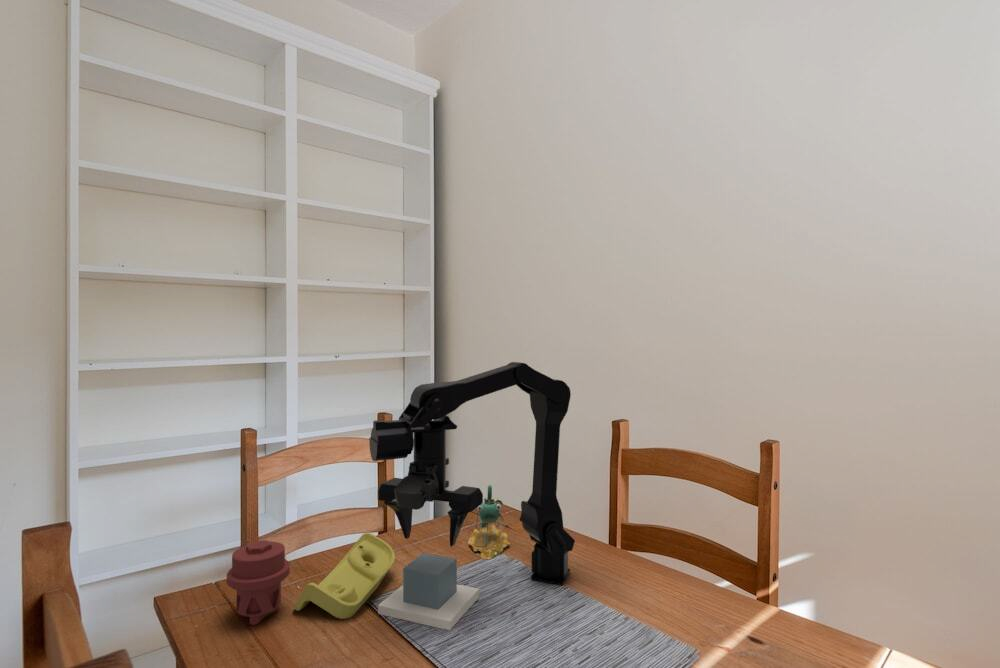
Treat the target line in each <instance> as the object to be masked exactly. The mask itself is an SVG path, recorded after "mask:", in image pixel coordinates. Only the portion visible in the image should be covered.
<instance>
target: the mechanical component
mask: <svg viewBox="0 0 1000 668" xmlns="http://www.w3.org/2000/svg"><path fill="white" fill-rule="evenodd" d="M285 547H286V546H285V545H284V544H283V543H280V542H278V541H270V540H265V539H264V540H263V539H262V540H260V539H259V540H256V541H252V542H250V543H248V544H246V545H244V546H241V547H239V548H237V549H236V550H235V551H234V552H233V553H232V554H231V568H230V569H229V570H228V571H227V573H226V585H227V586H228V587H230V588H231V589H233V590H235V591H236V613H237V614H239V615H240V616H243V617H247V618H248V617H249V625H252V626H255V625H258V624H259V623H260V622H261V621H262V620H264V618H266V617H267V616H269V615H271V614H273V613H275V612H278V611H279V608H280V605H281V602H282V595H281V594H282V587H281V586H282V585H281V583H282V582H284V580H286V578H287V577H288V576H289V575H290V573H291V564H290V562H289V560H287V559H286V556H285V555H286V554H285V552H286V551H285V549H286V548H285Z"/></svg>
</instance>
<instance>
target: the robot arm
mask: <svg viewBox="0 0 1000 668" xmlns="http://www.w3.org/2000/svg"><path fill="white" fill-rule="evenodd" d="M513 386H516V387H518V388H519V390H521V391H523V392H524V393H526V394H528V395H529V400H530V401H529V403H530V409H531V412H532V414H533V417H534V420H535V436H534V439H535V440H534V455H533V458H534V459H533V471H532V472H533V473H532V475H533V476H532V492H531V494H530V496H529V498H528V499H527V501H525V500H522V501H521V502H520V507H521V514H520V516H519V521H520V522H521V526H522V528H523V530H524V531H525V532H526V533H527V534H528V535H529V538H530V540H531V541H533V542H535V544H534V545H533V550H532V552H531V572H532V575H531V577H530V578H531V580H533V581H539V582H545V583H549V584H550V583H551V584H556V585H560V586H561V585H564V583H565V581H566V580H567V578H568V577H569V575H570V573H571V569H570V568H569V552H572V551H573V549H574V544H575V541H576V540H575V539H574V538H573V537H572V535H570V534H569V533H568V532H567V531H566V530H565V529H564V520H563V512H562V509H561V507H560V503H559V500H558V497H557V491H558V490H557V489H558V473H559V471H558V469H559V453H560V435H561V434H560V433H561V425H562V422H563V421H564V419H565V417H566V415H567V413H568V411H569V406H570V401H571V396H572V394H571V389H570V387H569V386H568V384H567V383H566V382H565V381H563V380H561V379H554V378H552V377H550V376H548V375H546V374H543V373H542V372H540V371H538V370H536V369H534V368H532V366H530V365H528V364H527V363H525V362H519V361H512V362H509V363H508V364H506V365H502V366H499V367H496V368H494V369H493V368H492V369H490V370H487V371H483V372H480V373H477V374H474V375H471V376H467V377H465V378H461V379H459V380H453V381H442V382H439V381H438V382H431V383H430V382H429V383H423V384H420V385H418V386H416V387H414V389H413V391H412V393H411V395H410V400H409V403H408V405H406V407H405V409H404V410H403V411H402V412H401V414H400V416H399V417H398V419H395V420H393V419H392V420H382V419H381V420H380V419H379V420H378V419H377V420H373V422H372V429H371V432H370V437H369V453H370V458H371V461H373V462H379V461H389V460H398V459H407V458H408V456H409V455H411V454H412V452H413V461H410V462H409V466H408V473H407V475H405V476H404V477H403V478H401V477H399V478H398V477H393V478H390V479H389V480H387V481H385V482H382V483H380V485H379V486H378V487H377V488H378V489H377V500H378V501H382V502H383V504H384V505H385V506H388V507H390V509H392V510H393V511H394V514H395V516H396V518H397V520H398V523H399V526H400V529H401V531H402V534H403V537H404V538H405V540H408V539H409V538H410V537H411V532H412V523H413V521H412V520H413V510H417V511H418V510H420V509H422V508H423V507H424V505H425V503H426V502H434V501H438V502H447V503H448V507H449V508H450V510H449V511H447V514H448V517H449V519H450V521H449V522H450V523H449V547H454V546H455V544H456V542H457V540H458V537H459V535H460V532H461V529H462V527H463V525H464V522H465V521H466V518H467V516H468V515H469V513H471V512H473V511H474V510H476V509H477V507H478V506H480V505H482V504H483V503H484V499H483V498H484V496H483V495H484V494H483V492H482V490H481V489H480V488H479V487H475V486H474V487H473V486H468V485H467V486H465V485H461V486H460V487H458V488H456V489H455V490H446V489H447V488H448V487H450V482H449V480H447V479H446V476H447V475H446V471H447V469H446V468H447V467H446V466H448V465H450V459H449V458H448V457H446V455H447V454H446V453H447V451H446V450H447V449H446V447H447V446H446V445H447V442H446V441H447V440H446V439H447V437H446V436H447V435H446V432H447V430H448V431H449V430H451V431H452V430H456V429H457V428H458V425H457V424H455V423H454V421H452V420H451V419H450V417H449V416H448V415H449V414H451V413H452V412H454V411H456V410H458V408H460V407H461V406H462V405H463V404H465V403H467V402H469V401H472V400H475V399H478V398H481V397H484V396H487V395H489V394H492V393H496V392H498V391H502V390H504V389H507V388H510V387H513Z"/></svg>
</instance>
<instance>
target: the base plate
mask: <svg viewBox="0 0 1000 668" xmlns="http://www.w3.org/2000/svg"><path fill="white" fill-rule="evenodd" d="M479 598H480V588H477V587H472V586H468V585H462V584H458V583H457V592H456V593H455V594H454V595H453V596H452V597H451V598H450V599H449V600H448V601H447V602H446V603H445V604H444V605H443V606H442V607H441V608H440V609H439V610H437V609H433V608H428V607H424V606H419V605H415V604H410V603H406V602H403V584H402V585H401V586H399V587H398V588H397V589H396V590H395V591H394V592H392V593H391V594H390V595H389V596H387V597H385V599H384V600H383V601H381V602H380V603H379V604H378V605H377V614H378V615H382V616H386V617H391V618H395V619H400V620H404V621H407V622H412V623H416V624H421V625H425V626H429V627H434V628H438V629H442V630H447V631H451V630H452V629H453V628H454V626H455V625H456V624H457V623H458V622H459V621H460V620H461V618H462V617H463V616H464V615H465V614H466V613H467V611H469V609H470V608H471V607H472V606H473V605H474V604H475V602H476V601H477V600H478V599H479Z"/></svg>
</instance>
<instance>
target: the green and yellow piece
mask: <svg viewBox="0 0 1000 668" xmlns="http://www.w3.org/2000/svg"><path fill="white" fill-rule="evenodd" d="M492 492H493V486H492V485H490V484H488V486H487V498H486V497H485V498H484V499H483V503H482V504H481V505H480V506H478V507H477V508H476V509H477V515H476V516H477V517H476V519H475V521H476V523H475V524H476V525H475V528H474V529H473V532H471V534H470V536H469V539H468V542H467V544H468V545H469V546H471V549H473V551H474V552H477V551H478V552H480V558H481V559H482V560H484V559H485V560H486V559H487V560H492V559H494V557H495V556H498V555H500V554H502V552H503V551H504V548H507V547H509V546H510V545H511V543H510V542H509V540H508V539H509V538H508V534H507V533H506V532H502V530H500V522H502V523H503V528H506V525H505V519H504V518H503V516H502V515H501V513H500V511H501V510H502V508H503V507H502V505H503V502H502V500H501V499H497V500H496V501H495V499H494V498H492V496H493V495H492V494H493V493H492ZM478 517H479V518H478ZM499 518H500V519H499ZM478 519H480V520H479V523H480V526H479V527H480V528H479V530H478ZM493 523H494V524H493ZM497 523H498V524H497Z"/></svg>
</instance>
